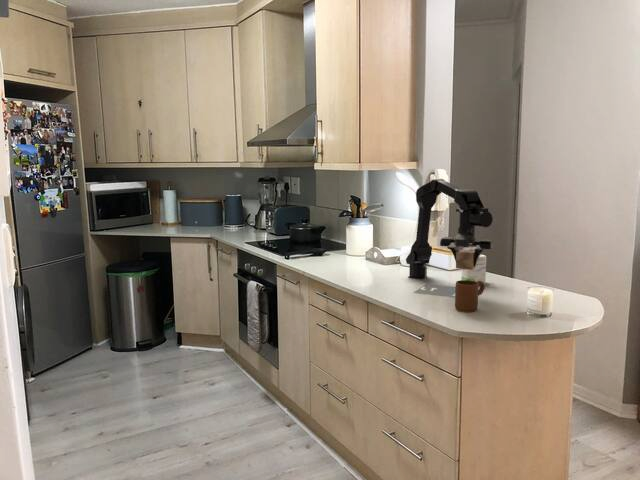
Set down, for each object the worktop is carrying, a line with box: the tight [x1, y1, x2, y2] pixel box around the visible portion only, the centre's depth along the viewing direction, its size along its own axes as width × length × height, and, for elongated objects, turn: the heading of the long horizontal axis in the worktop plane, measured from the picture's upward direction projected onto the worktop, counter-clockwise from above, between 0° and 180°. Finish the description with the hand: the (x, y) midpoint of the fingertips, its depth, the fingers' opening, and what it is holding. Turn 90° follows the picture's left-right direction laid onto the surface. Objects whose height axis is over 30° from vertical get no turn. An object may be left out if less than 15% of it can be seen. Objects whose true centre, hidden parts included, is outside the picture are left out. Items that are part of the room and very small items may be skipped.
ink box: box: [460, 246, 487, 284], centre depth 215 cm, size 9×5×15 cm, turn 105°
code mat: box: [412, 283, 479, 299], centre depth 203 cm, size 22×16×1 cm
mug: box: [454, 280, 486, 313], centre depth 180 cm, size 12×8×9 cm, turn 120°
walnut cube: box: [455, 249, 476, 270], centre depth 198 cm, size 6×6×6 cm
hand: (466, 265), depth 198 cm, fingers closed on walnut cube, 6 cm apart
